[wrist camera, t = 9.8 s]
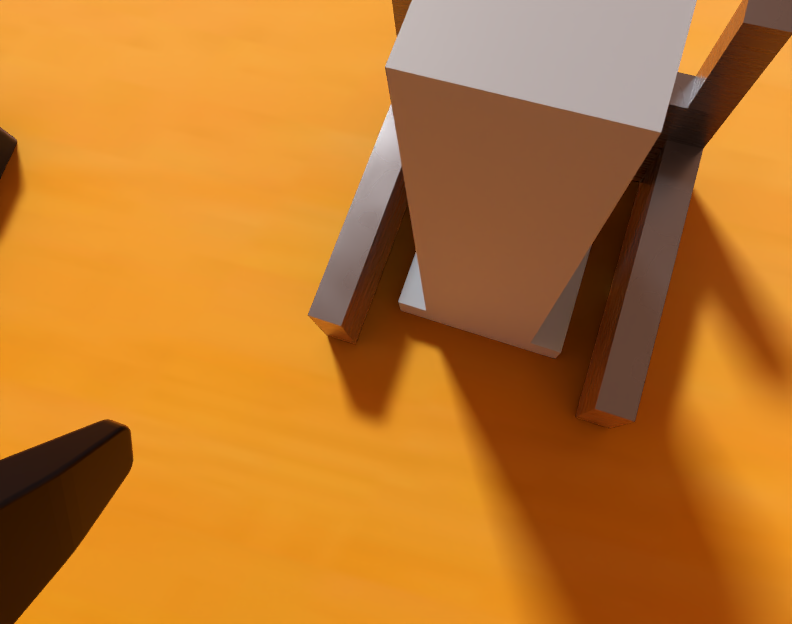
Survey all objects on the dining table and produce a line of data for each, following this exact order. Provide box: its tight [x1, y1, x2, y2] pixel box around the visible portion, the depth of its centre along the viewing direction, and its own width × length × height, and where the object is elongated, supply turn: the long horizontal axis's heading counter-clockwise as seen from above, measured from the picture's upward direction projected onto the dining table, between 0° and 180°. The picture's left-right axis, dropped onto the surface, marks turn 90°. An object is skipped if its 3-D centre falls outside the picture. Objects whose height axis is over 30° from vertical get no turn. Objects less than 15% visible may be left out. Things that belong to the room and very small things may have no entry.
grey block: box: [385, 0, 697, 359], centre depth 13 cm, size 5×5×12 cm
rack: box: [308, 0, 792, 428], centre depth 15 cm, size 9×9×7 cm
